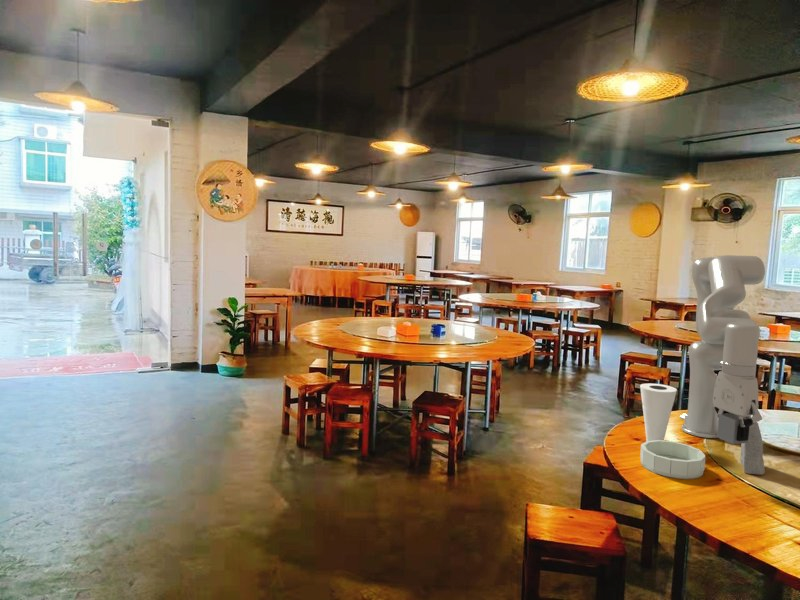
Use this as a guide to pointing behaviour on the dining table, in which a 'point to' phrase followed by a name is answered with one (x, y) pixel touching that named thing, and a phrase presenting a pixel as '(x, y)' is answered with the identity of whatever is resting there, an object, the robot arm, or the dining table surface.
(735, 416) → the matte grey cube
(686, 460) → the bowl
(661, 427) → the cup
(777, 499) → the dining table surface
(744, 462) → the decorative stone
